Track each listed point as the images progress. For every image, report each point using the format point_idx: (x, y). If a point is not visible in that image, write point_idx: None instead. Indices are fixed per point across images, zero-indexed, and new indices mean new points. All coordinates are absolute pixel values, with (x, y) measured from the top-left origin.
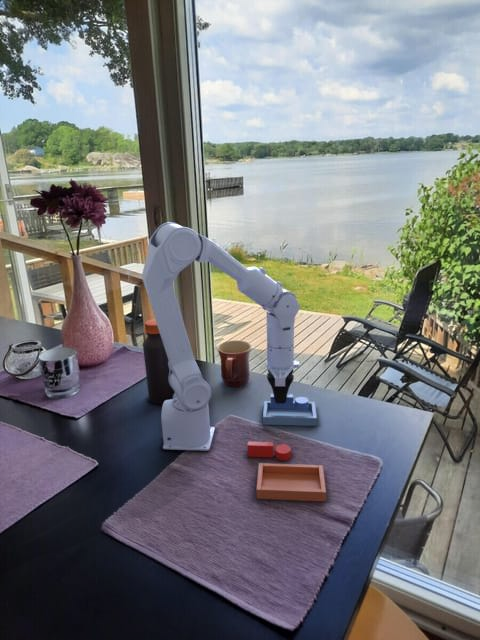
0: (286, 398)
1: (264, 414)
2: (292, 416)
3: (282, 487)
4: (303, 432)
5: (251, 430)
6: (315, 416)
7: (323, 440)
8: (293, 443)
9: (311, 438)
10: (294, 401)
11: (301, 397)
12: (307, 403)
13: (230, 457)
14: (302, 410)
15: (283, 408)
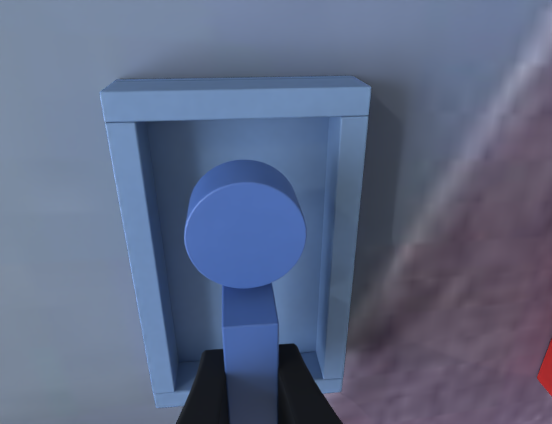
0: (304, 368)
1: None
2: (339, 252)
3: None
4: (418, 162)
5: (377, 390)
6: (344, 96)
7: (520, 38)
8: (512, 212)
9: (485, 115)
10: (130, 249)
11: (201, 241)
12: (278, 184)
13: (548, 421)
14: (176, 173)
15: (168, 286)
